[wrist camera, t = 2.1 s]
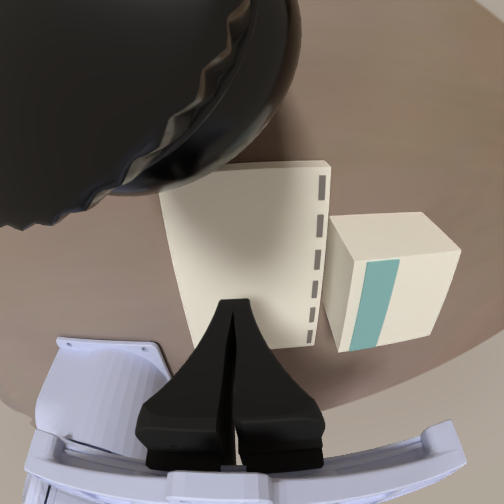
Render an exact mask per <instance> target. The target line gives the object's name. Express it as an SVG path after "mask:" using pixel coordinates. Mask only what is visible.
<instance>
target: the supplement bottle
mask: <svg viewBox="0 0 504 504" xmlns="http://www.w3.org/2000/svg"><path fill="white" fill-rule="evenodd" d="M301 37H302V29H301V16H300V9H299V4H298V1H297V0H0V227H3V226H5V225H9V226H11V227H13V228H15V229H18V230H21V231H23V230H26V229H28V228H29V227H31V226H32V225H34V224H42V225H48V226H53V225H55V224H57V223H59V222H60V221H62V220H63V219H64V218H65V217H66V216H68V215H69V214H70V213H76V212H82V211H87V210H89V209H91V208H93V207H94V206H95V205H97V204H98V203H99V202H100V201H101V200H102V199H103V198H104V197H106V196H107V195H110V196H143V195H151V194H156V193H162V192H165V191H169V190H172V189H176V188H179V187H181V186H184V185H187V184H189V183H192V182H194V181H196V180H198V179H201V178H203V177H205V176H207V175H208V174H210V173H212V172H214V171H215V170H217V169H219V168H220V167H222V166H223V165H225V164H226V163H227V162H229V161H230V160H232V159H233V158H234V157H236V156H237V155H238V154H239V153H240V152H242V151H243V150H244V149H245V148H246V147H247V146H248V145H249V144H250V143H251V142H252V141H253V140H254V139H255V138H256V137H257V136H258V135H259V134H260V133H261V132H262V130H263V129H264V128H265V127H266V126H267V124H268V123H269V122H270V120H271V119H272V117H273V116H274V114H275V113H276V112H277V110H278V109H279V107H280V105H281V103H282V101H283V100H284V98H285V96H286V94H287V92H288V89H289V87H290V85H291V83H292V80H293V77H294V74H295V71H296V68H297V64H298V59H299V54H300V49H301Z"/></svg>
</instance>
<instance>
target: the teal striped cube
mask: <svg viewBox="0 0 504 504" xmlns="http://www.w3.org/2000/svg"><path fill="white" fill-rule="evenodd" d="M460 254H461V249H460V248H459V247H458V246H457V245H456V244H455V243H454V242H453V241H452V240H451V239H450V238H449V237H448V236H447V235H446V234H445V233H444V232H443V231H442V230H441V229H439V228H438V227H437V226H436V225H435V224H434V223H433V222H432V221H431V220H430V219H429V218H428V217H427V216H425V215H424V214H423V213H422V212H406V213H381V214H360V215H341V216H329V218H328V236H327V252H326V265H325V277H324V288H323V299H322V302H323V305H324V308H325V311H326V314H327V318H328V321H329V324H330V327H331V330H332V334H333V337H334V340H335V344H336V347H337V350H338V353H339V352H346V351H354V350H360V349H366V348H372V347H376V346H381V345H386V344H392V343H396V342H401V341H406V340H411V339H415V338H420V337H424V336H428V335H430V333H431V331H432V329H433V326H434V324H435V322H436V320H437V317H438V315H439V312H440V310H441V307H442V305H443V302H444V300H445V297H446V295H447V292H448V289H449V287H450V284H451V281H452V278H453V275H454V272H455V269H456V266H457V263H458V260H459V257H460Z"/></svg>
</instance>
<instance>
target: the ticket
mask: <svg viewBox="0 0 504 504" xmlns="http://www.w3.org/2000/svg"><path fill="white" fill-rule="evenodd" d="M330 176H331V167H330V166H329V165H328V164H327V163H326V162H325V161H324V160H308V161H271V162H251V163H234V164H225V165H223V166H222V167H220V168H219V169H217V170H215V171H214V172H212V173H210V174H208V175H207V176H205V177H203V178H201V179H198V180H196V181H194V182H192V183H189V184H187V185H184V186H181V187H179V188H176V189H172V190H169V191H165V192H162V193H159V197H160V203H161V208H162V213H163V219H164V224H165V229H166V234H167V238H168V243H169V248H170V252H171V257H172V261H173V266H174V270H175V275H176V279H177V283H178V287H179V291H180V295H181V299H182V303H183V307H184V311H185V315H186V319H187V322H188V326H189V330H190V333H191V337H192V341H193V344H194V348H196V347H197V345H198V343H199V342H200V340H201V339H202V337H203V335H204V333H205V332H206V330H207V328H208V326H209V324H210V322H211V320H212V317H213V315H214V313H215V311H216V308H217V305H218V302H219V301H220V300H221V299H241V298H248V299H249V300H250V304H251V309H252V312H253V315H254V318H255V321H256V323H257V325H258V327H259V330H260V332H261V334H262V336H263V338H264V340H265V341H266V343H267V345H268V347H269V348H270V349H280V348H292V347H303V346H313V345H314V342H315V335H316V328H317V321H318V313H319V305H320V297H321V288H322V280H323V270H324V260H325V249H326V238H327V225H328V211H329V196H330Z"/></svg>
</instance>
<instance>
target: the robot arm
mask: <svg viewBox="0 0 504 504" xmlns="http://www.w3.org/2000/svg"><path fill="white" fill-rule="evenodd" d="M56 343H57V344H58V346H59V348H60V349H59V351H58V353H57V355H56V357H55V359H54V362H53V364H52V366H51V368H50V370H49V373H48V375H47V377H46V380H45V382H44V384H43V387H42V389H41V391H40V394H39V396H38V399H37V403H36V409H35V419H36V425H37V429H36V431H35V433H34V436H33V439H32V443H31V446H30V449H29V452H28V456H27V459H26V463H25V467H24V470H25V471H27V472H28V473H27V476H26V481H25V485H24V490H23V496H22V504H378V503H381V502H384V501H388V500H391V499H394V498H396V497H399V496H402V495H405V494H407V493H410V492H413V491H416V490H418V489H421V488H423V487H426V486H428V485H431V484H433V483H436V482H438V481H440V480H442V479H444V478H445V477H447V476H449V475H450V474H452V473H453V472H455V471H456V470H458V469H459V468H461V467H462V466H464V465H465V464H466V463H467V461H466V457H465V455H464V452H463V449H462V446H461V443H460V441H459V438H458V435H457V433H456V430H455V427H454V425H453V422H452V420H451V419H449V420H446V421H444V422H441V423H438V424H435V425H433V426H431V427H428V428H427V429H425V430H424V431H423V432H422V434H421V435H419V436H416V437H413V438H410V439H407V440H403V441H400V442H397V443H393V444H389V445H386V446H382V447H378V448H374V449H370V450H365V451H361V452H356V453H351V454H346V455H341V456H335V457H329V458H323V453H322V447H323V444H322V439H321V437H322V435H323V432H324V430H325V421H324V418H323V416H322V413H321V411H320V409H319V407H318V405H317V404H316V402H315V400H314V399H313V398H311V397H310V396H309V395H308V394H307V393H306V392H305V391H304V390H303V389H302V388H301V387H300V386H299V385H298V384H297V383H296V382H295V381H294V380H293V379H292V378H291V377H290V375H289V374H288V373H287V372H286V371H285V369H284V368H283V367H282V366H281V364H280V363H279V362H278V360H277V359H276V357H275V356H274V354H273V353H272V351H271V350H270V348H269V347H268V345H267V343H266V341H265V340H264V338H263V336H262V334H261V332H260V330H259V327H258V325H257V323H256V321H255V318H254V315H253V312H252V309H251V304H250V300H249V299H248V298H241V299H221V300H220V301H219V302H218V305H217V308H216V311H215V313H214V315H213V317H212V320H211V322H210V324H209V326H208V328H207V330H206V332H205V333H204V335H203V337H202V339H201V340H200V342H199V343H198V345H197V347H196V348H195V350H194V351H193V353H192V354H191V356H190V357H189V358H188V360H187V361H186V362H185V363H184V365H183V366H182V367H181V368H180V370H179V371H178V372H177V373H176V374H175V375H174V376H173V377H171V375H170V373H169V370H168V368H167V366H166V363H165V361H164V358H163V356H162V354H161V351H160V349H159V346H158V345H157V344H156V343H154V342H136V341H111V340H93V339H79V338H67V337H58V338H57V340H56ZM234 387H235V392H234ZM235 428H236V432H237V436H238V453H239V455H240V458H241V461H242V464H243V465H236V450H235Z"/></svg>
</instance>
